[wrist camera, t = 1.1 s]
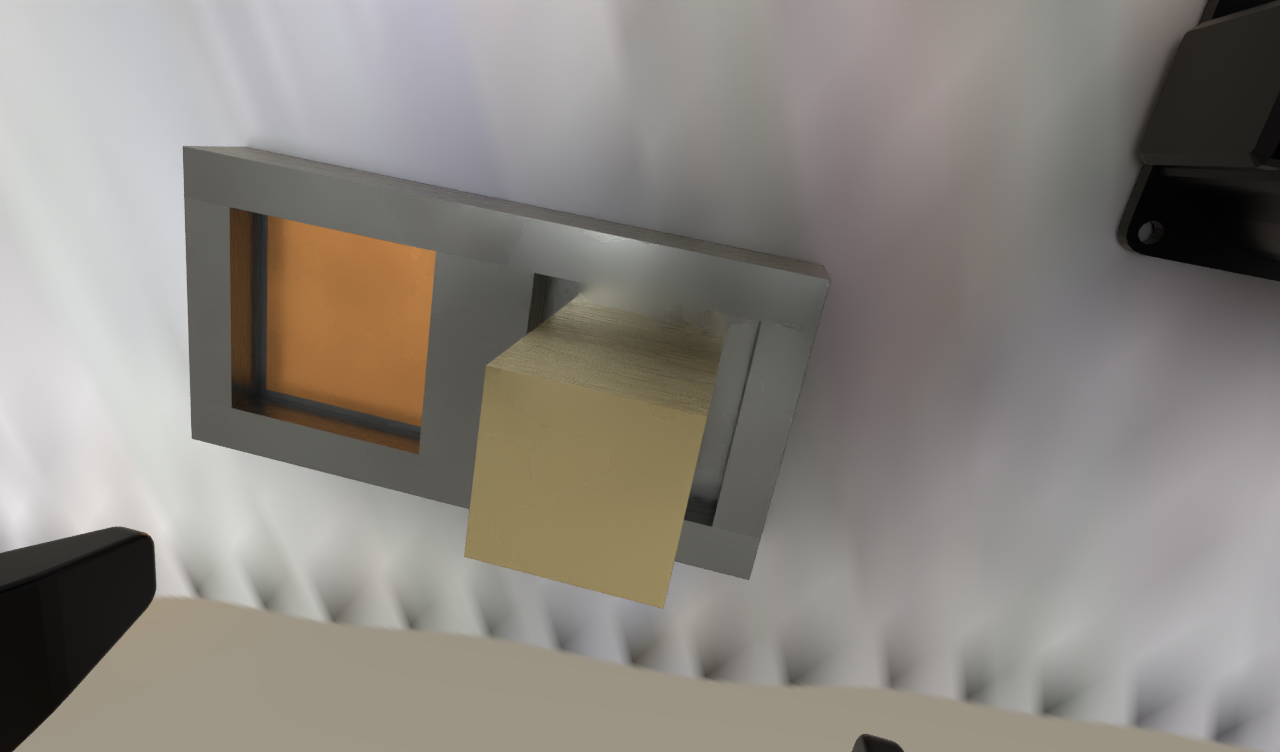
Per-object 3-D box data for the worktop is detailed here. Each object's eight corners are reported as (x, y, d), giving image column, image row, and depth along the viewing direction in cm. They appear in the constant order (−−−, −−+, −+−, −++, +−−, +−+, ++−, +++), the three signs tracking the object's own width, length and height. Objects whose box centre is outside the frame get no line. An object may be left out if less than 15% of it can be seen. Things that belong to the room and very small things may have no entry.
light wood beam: (725, 333, 18) (707, 416, 12) (693, 474, 19) (663, 608, 13) (573, 299, 18) (486, 365, 13) (551, 440, 20) (464, 556, 14)
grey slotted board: (823, 265, 18) (830, 280, 16) (750, 536, 20) (749, 580, 18) (244, 147, 20) (182, 145, 17) (245, 411, 22) (191, 438, 20)
